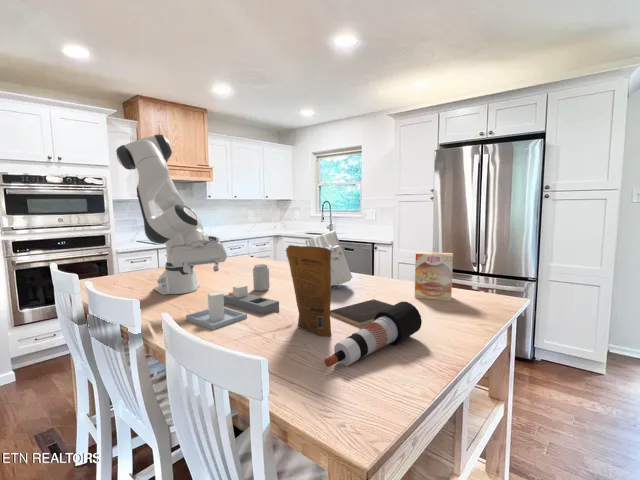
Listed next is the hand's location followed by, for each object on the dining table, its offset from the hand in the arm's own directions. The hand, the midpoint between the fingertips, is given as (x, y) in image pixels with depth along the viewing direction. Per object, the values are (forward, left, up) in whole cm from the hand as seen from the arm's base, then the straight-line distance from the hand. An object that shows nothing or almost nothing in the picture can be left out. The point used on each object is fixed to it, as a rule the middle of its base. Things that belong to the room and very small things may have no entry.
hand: (204, 272), depth 128 cm
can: (-8, +36, -16) cm, 40 cm away
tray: (+12, -3, -16) cm, 20 cm away
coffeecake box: (+62, +72, -16) cm, 96 cm away
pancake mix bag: (+44, +11, -16) cm, 48 cm away
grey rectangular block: (+12, -3, -15) cm, 19 cm away
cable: (+67, +9, -16) cm, 70 cm away
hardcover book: (+50, +36, -16) cm, 63 cm away
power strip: (+10, +14, -16) cm, 23 cm away
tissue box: (+13, +61, -16) cm, 64 cm away
